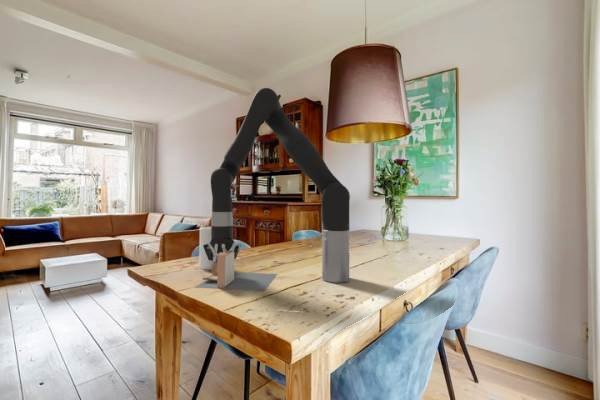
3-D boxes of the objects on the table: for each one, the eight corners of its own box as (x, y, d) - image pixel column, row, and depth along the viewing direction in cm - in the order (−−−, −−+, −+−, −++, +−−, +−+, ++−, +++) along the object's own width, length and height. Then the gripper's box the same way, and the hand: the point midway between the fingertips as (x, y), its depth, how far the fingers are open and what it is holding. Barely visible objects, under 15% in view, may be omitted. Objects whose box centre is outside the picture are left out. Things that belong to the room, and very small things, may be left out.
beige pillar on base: (233, 269, 105) (233, 258, 105) (217, 280, 91) (217, 268, 91) (221, 268, 106) (221, 257, 106) (202, 279, 91) (202, 267, 91)
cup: (217, 270, 108) (217, 228, 108) (196, 269, 108) (196, 228, 108) (223, 265, 116) (223, 226, 116) (203, 264, 116) (204, 226, 116)
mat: (277, 274, 102) (277, 274, 102) (263, 292, 83) (263, 291, 83) (220, 272, 105) (220, 271, 105) (194, 288, 86) (194, 287, 86)
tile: (234, 280, 94) (234, 250, 94) (224, 287, 86) (225, 255, 86) (227, 279, 94) (227, 250, 94) (217, 287, 86) (217, 255, 86)
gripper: (244, 223, 103) (244, 270, 103) (208, 223, 105) (208, 268, 105) (237, 225, 96) (237, 276, 96) (198, 224, 98) (198, 274, 98)
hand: (221, 272), depth 100 cm, fingers closed on beige pillar on base, 3 cm apart
